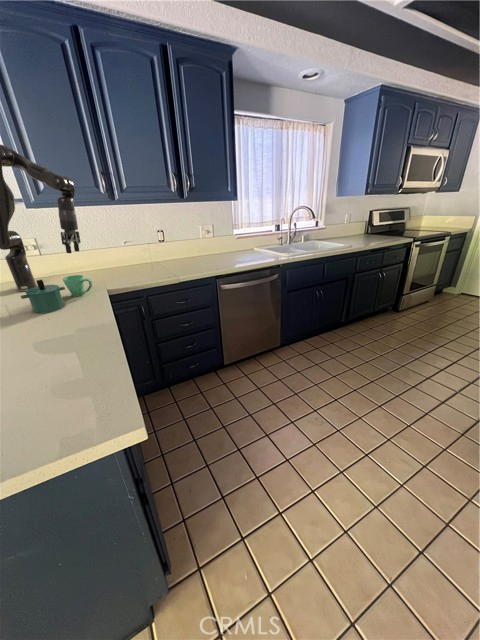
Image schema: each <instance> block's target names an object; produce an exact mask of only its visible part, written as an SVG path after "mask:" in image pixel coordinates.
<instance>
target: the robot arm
mask: <svg viewBox="0 0 480 640" xmlns="http://www.w3.org/2000/svg"><path fill="white" fill-rule="evenodd" d="M3 167H4V168H5V167H11V168H15V169H19V170H21V171H23V172H25V173H26V174H27V175H28V176H29V177H30V178H32V179H34V180H35V181H38V182H40V183H42V184H45V185H46V186H48V188H51V189H53V190H55V191H57V192H61V195H60V196H58V197H57V198H56V202H57V209H58V219H59V224H60V229H61V230H63V231H60V239H61V245H64V247H65V252H66V254H72V253H73V252H72V246H71V244H72V243H73V249H74V252H80V246H79V245H80V243H81V236H80V232H79V226H78V219H77V214H76V209H75V202H74V200H75V196H76V195H75V194H76V187H75V183H74V181H73V179H72V178H70V177H68V176H63V175H59V174H57V173H54V172H53V170H50V169H49V168H47V167H45V166H42V165H40V164H38V163H36V162H34V161H31V160H30V159H28V158H26V157H24V156H23V155H21V154H19V153H18V152H17V151H16V150H14V149H12V148H11V147H8V146H7V145H4V144H0V250H1V251H2V250H3V251H6V250H9V252H8V254H6V255H5V257H4V259H5V261H6V264H7V266H8V268H9V269H8V270H9V272H10V273H11V276H12V279H13V281H14V283H15V286H16V288H17V291H18V292H26V291H27V290H28V289H31V288H34V287H38V284H36V283H37V282H36V280H35V278H34V275H33V273H32V269H31V266H30V265H29V262H28V259H27V251H26V248H25V245H24V242H23V239H22V237H21V236H20V234H19V233H18V232H17V231H16V230H15V231H14V230H9V224H10V222H11V220H12V218H13V216H14V214H15V210H16V201H15V199H16V198H15V195H14V193H13V191H12V190H11V188H10V186H9V185H8V183H7V182H6V180H5V177H4V172H3Z"/></svg>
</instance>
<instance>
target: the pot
mask: <svg viewBox="0 0 480 640" xmlns="http://www.w3.org/2000/svg"><path fill="white" fill-rule="evenodd" d="M65 290H66V286H59V289H58V290H56V291H53V292H50V293H46V294H41V295H27V294H22V295H20V298H21V300H25V299H28V300H29V302H30V306H31V308H32V310H33V312H34V313H36V314H47V313H48V314H49V313H53V312H56V311H58V310H60V309H62V308H64V307H65V303H64V300H63V297H62V294H61V291H65Z"/></svg>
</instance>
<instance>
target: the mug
mask: <svg viewBox="0 0 480 640" xmlns="http://www.w3.org/2000/svg"><path fill="white" fill-rule="evenodd" d="M62 281H63V283H64V285H65V287H66V288H67V289H68V291H69V292H70V294H71V295H72V296H73V297H81V296H83V295H84V294H86V293H88V292H89V291H90V290H91V289H92V288H93V280H91V278H84V275H82V274H74V275H68V276H64V277H63V278H62ZM84 282H88V285H89V286H88V288H87V289H86V290H85V289H84V288H85V283H84Z"/></svg>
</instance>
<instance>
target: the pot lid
mask: <svg viewBox="0 0 480 640" xmlns="http://www.w3.org/2000/svg"><path fill="white" fill-rule="evenodd" d="M36 283H37V284H36V285H37V287H34V288H31V289H28V290H27V291H24V293H25V295H41V294H46V293H50V292H53V291H56V290H58V289H59V287H60V286H59V285H58V284H45V283H44V281H43V279H37V280H36Z"/></svg>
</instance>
